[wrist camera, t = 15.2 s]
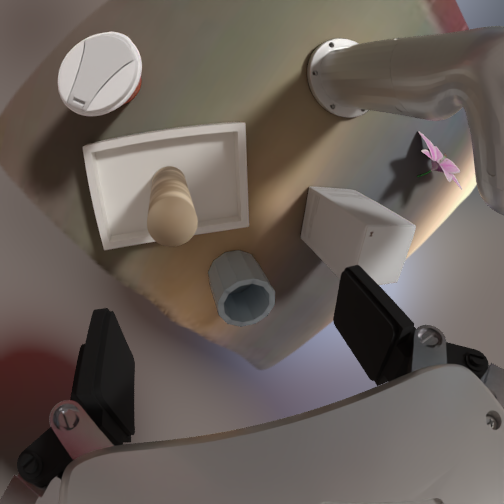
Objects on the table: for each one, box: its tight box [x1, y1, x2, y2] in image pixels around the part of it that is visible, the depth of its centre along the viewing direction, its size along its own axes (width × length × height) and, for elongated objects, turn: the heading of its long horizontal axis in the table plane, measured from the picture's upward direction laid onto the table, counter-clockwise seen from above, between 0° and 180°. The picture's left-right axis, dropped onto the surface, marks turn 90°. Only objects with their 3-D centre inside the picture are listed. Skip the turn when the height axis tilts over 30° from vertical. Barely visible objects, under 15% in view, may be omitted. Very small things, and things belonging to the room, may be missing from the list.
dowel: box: [147, 166, 198, 247], centre depth 30 cm, size 4×4×14 cm
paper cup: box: [58, 32, 142, 116], centre depth 23 cm, size 8×8×14 cm
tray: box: [83, 122, 249, 250], centre depth 36 cm, size 20×14×3 cm
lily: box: [417, 131, 462, 190], centre depth 44 cm, size 12×12×10 cm
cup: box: [208, 250, 275, 327], centre depth 43 cm, size 8×8×8 cm
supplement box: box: [300, 187, 416, 285], centre depth 40 cm, size 9×9×15 cm
